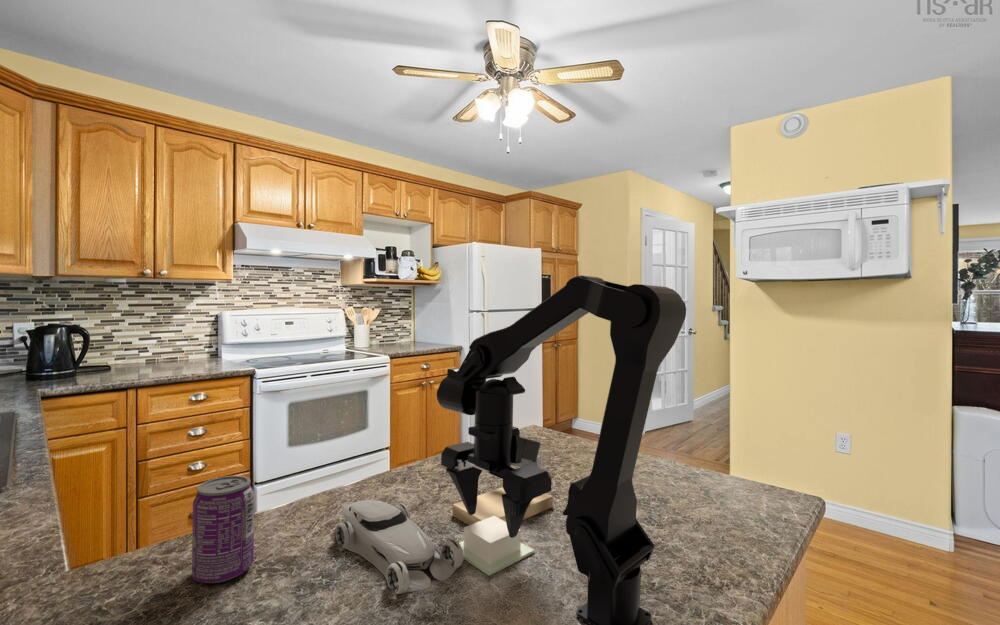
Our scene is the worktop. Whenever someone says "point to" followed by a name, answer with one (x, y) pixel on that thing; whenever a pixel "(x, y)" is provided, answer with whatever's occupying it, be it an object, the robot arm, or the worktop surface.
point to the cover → (491, 539)
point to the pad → (497, 565)
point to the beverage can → (222, 529)
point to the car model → (396, 545)
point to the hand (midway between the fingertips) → (491, 525)
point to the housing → (498, 507)
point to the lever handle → (527, 462)
